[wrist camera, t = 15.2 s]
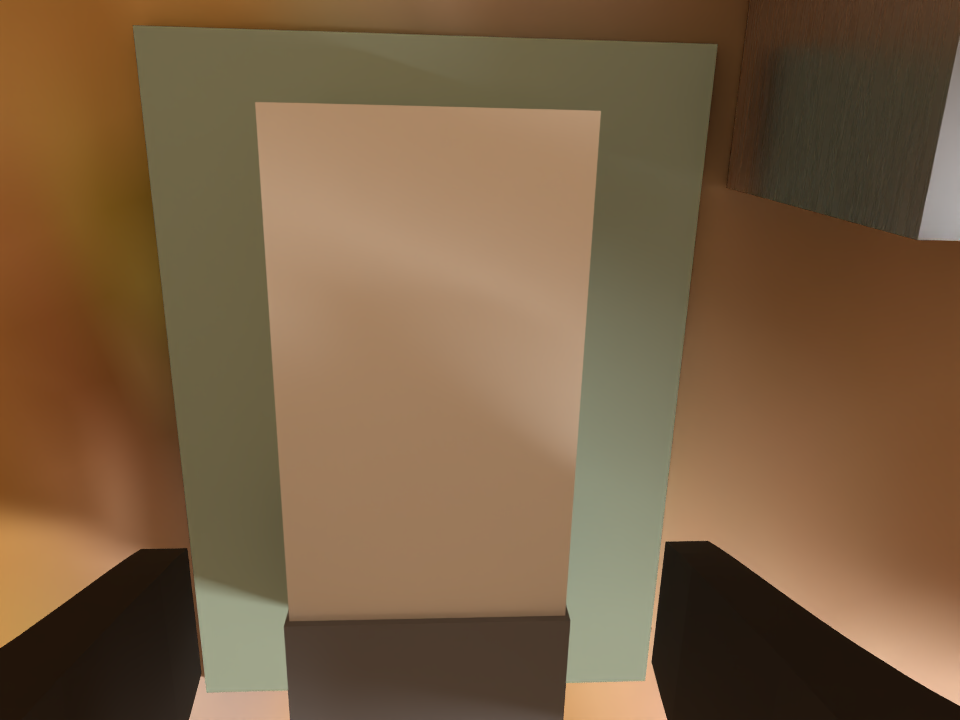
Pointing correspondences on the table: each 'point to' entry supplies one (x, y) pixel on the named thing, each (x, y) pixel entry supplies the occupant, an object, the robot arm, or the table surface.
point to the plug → (427, 400)
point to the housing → (853, 112)
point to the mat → (245, 311)
